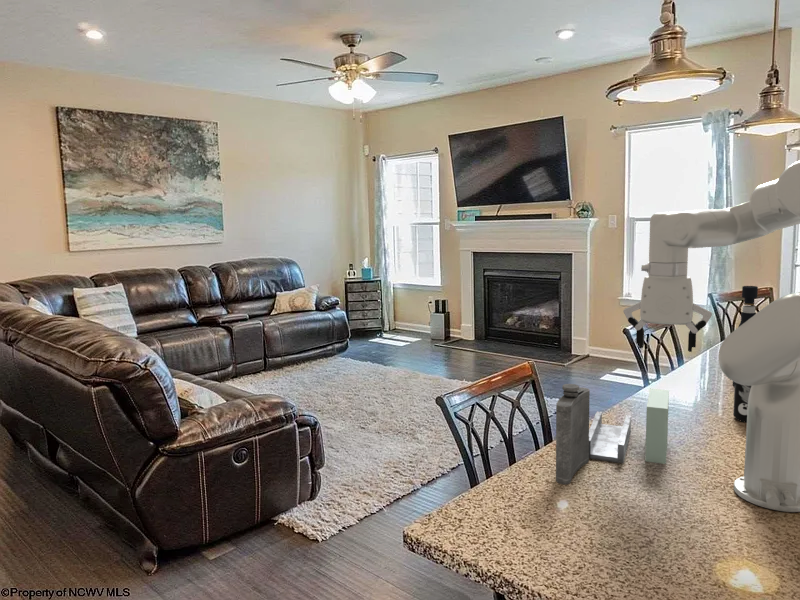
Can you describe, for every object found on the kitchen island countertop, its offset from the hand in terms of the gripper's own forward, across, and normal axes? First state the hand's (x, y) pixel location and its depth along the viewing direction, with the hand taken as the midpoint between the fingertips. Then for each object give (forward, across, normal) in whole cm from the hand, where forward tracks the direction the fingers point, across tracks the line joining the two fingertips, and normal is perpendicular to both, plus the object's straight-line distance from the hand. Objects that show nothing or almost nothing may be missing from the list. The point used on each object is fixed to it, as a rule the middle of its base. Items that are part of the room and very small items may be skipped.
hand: (665, 348), depth 125 cm
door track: (+23, -11, -2) cm, 25 cm away
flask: (+23, -16, -19) cm, 34 cm away
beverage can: (+23, +18, +28) cm, 40 cm away
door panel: (+23, -1, -2) cm, 23 cm away
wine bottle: (+23, +19, +60) cm, 67 cm away
